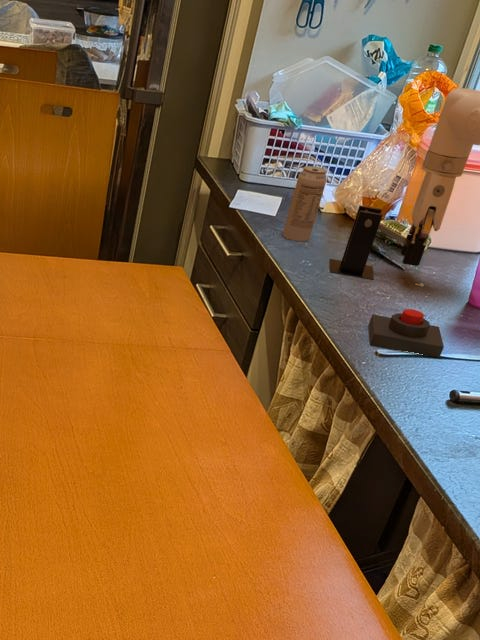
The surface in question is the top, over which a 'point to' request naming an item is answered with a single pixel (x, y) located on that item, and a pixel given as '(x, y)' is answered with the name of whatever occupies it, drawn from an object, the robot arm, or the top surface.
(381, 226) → the lever
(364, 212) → the bracket
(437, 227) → the robot arm
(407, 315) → the button
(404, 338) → the control block
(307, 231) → the energy drink can
